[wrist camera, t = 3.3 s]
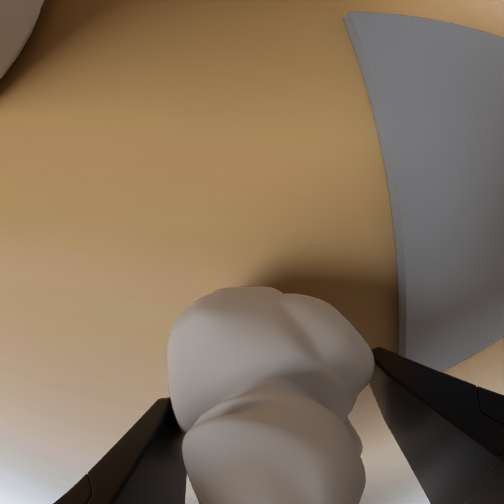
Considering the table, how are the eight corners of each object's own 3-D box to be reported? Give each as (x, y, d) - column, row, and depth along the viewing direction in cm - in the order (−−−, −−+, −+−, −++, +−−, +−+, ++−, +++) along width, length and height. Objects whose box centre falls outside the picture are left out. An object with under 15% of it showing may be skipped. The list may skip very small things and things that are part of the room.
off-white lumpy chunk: (264, 218, 8) (439, 519, 1) (379, 353, 10) (493, 526, 2) (137, 331, 9) (41, 563, 1) (267, 431, 11) (295, 609, 3)
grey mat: (532, 307, 11) (539, 311, 10) (397, 381, 11) (402, 390, 10) (513, 46, 7) (521, 44, 6) (343, 18, 7) (349, 11, 7)
